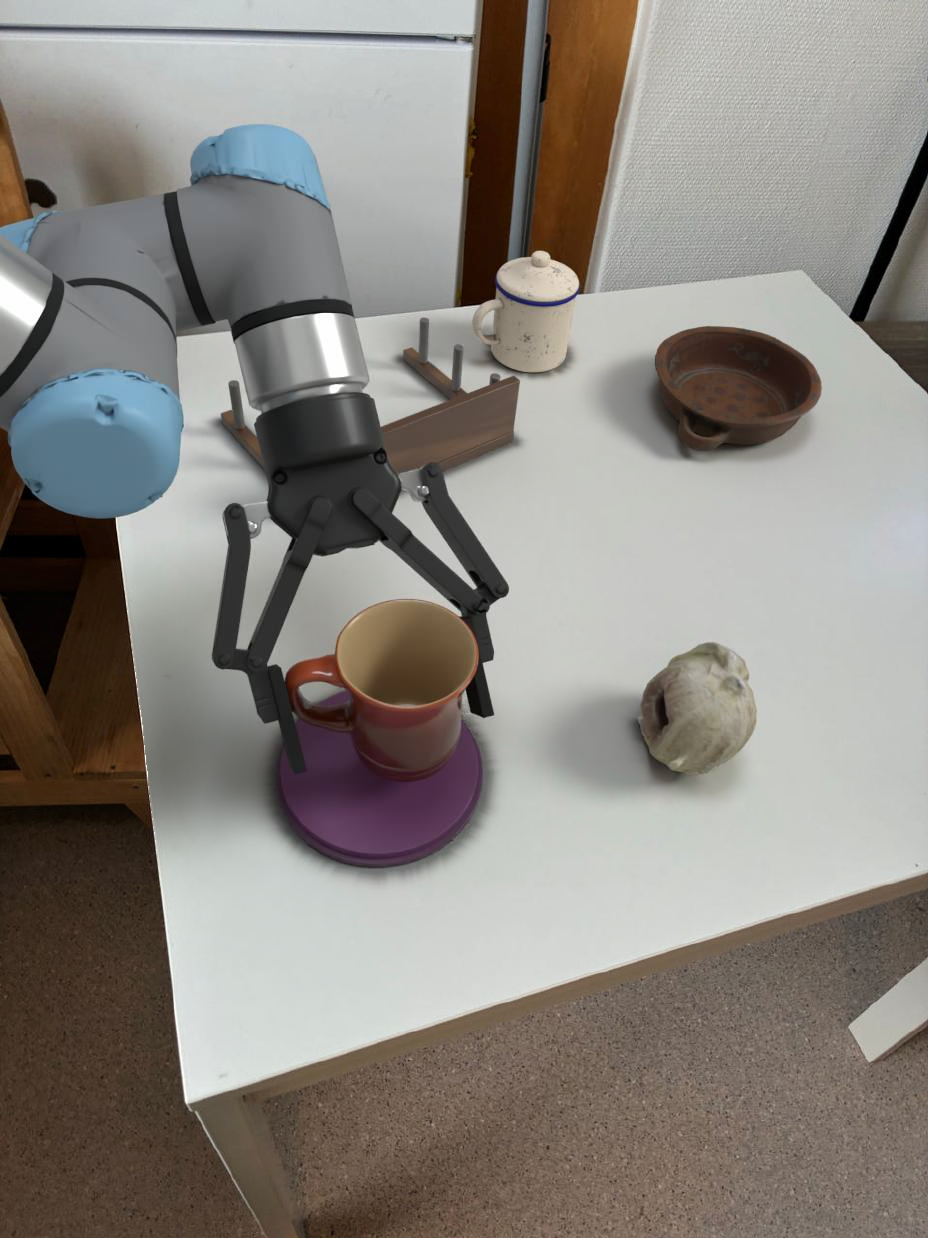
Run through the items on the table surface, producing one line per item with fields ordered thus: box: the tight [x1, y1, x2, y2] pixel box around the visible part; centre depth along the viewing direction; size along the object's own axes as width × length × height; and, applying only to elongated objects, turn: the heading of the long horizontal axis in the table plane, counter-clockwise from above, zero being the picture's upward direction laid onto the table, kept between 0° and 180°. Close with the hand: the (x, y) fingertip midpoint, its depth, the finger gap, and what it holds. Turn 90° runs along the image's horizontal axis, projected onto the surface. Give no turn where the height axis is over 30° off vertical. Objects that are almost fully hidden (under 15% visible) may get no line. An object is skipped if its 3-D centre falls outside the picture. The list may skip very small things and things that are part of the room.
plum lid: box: [274, 689, 484, 868], centre depth 65 cm, size 15×15×1 cm
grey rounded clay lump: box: [637, 641, 758, 777], centre depth 65 cm, size 9×8×10 cm
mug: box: [284, 598, 479, 782], centre depth 59 cm, size 12×9×10 cm
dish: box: [654, 325, 823, 452], centre depth 96 cm, size 18×22×5 cm
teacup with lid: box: [471, 250, 581, 373], centre depth 98 cm, size 12×9×12 cm
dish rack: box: [220, 317, 521, 474], centre depth 88 cm, size 18×23×7 cm
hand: (393, 740), depth 58 cm, fingers closed on mug, 12 cm apart
